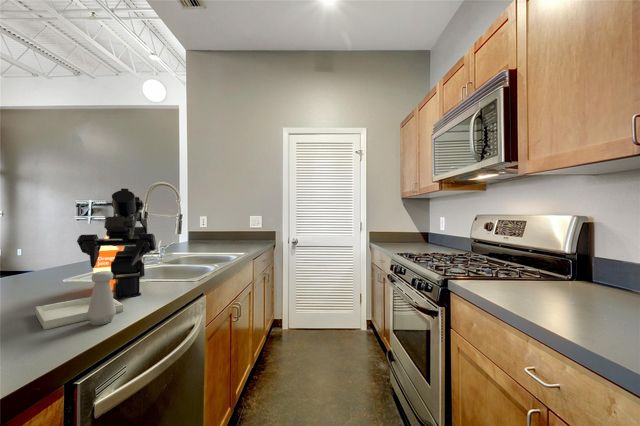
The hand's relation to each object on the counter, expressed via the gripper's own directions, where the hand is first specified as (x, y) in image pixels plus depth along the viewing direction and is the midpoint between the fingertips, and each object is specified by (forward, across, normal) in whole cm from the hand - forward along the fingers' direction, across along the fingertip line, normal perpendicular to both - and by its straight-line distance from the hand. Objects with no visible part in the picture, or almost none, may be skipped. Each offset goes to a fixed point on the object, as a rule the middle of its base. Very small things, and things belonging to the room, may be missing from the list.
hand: (112, 266), depth 78 cm
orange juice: (-12, -9, +31) cm, 35 cm away
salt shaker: (+15, 0, +4) cm, 15 cm away
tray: (+7, -8, +11) cm, 16 cm away
